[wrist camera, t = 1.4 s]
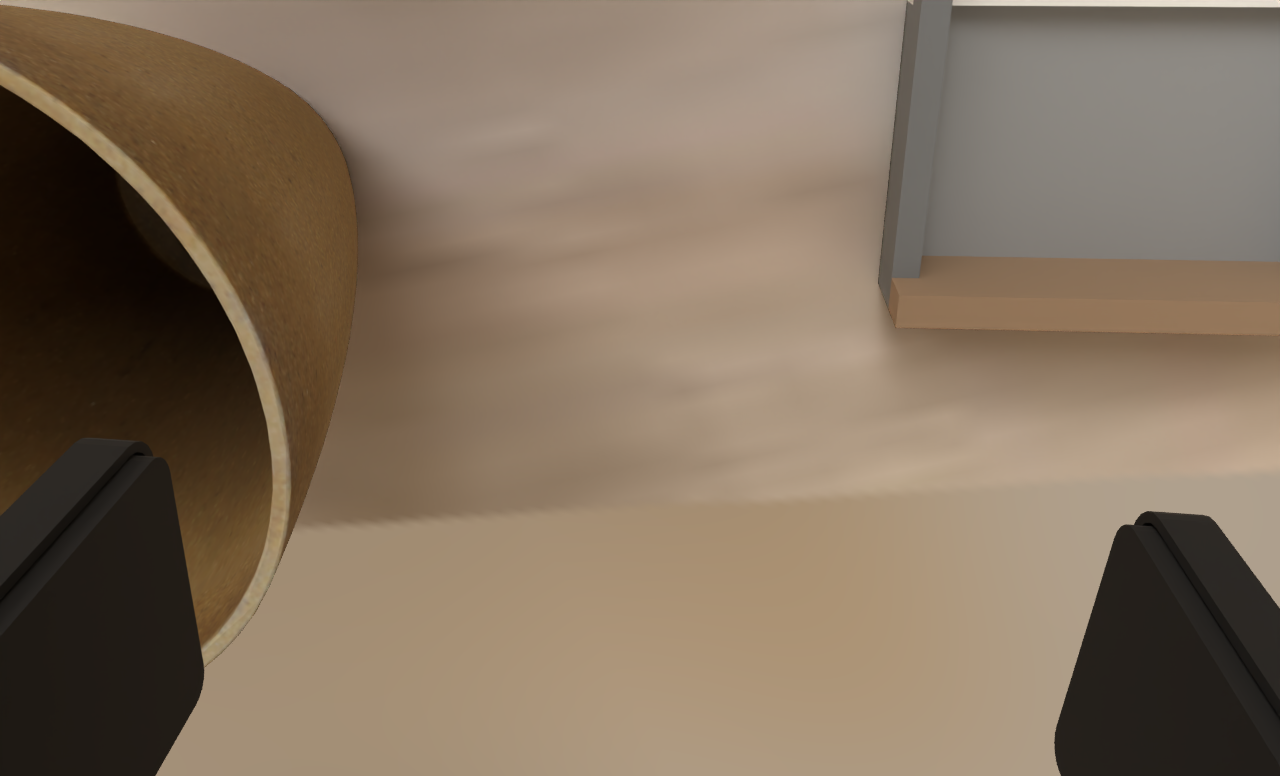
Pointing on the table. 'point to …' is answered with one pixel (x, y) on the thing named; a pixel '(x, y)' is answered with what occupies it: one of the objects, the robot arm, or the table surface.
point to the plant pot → (171, 283)
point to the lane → (1086, 167)
